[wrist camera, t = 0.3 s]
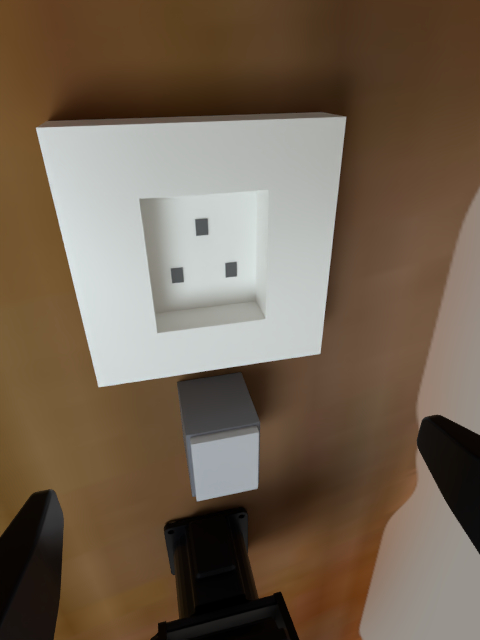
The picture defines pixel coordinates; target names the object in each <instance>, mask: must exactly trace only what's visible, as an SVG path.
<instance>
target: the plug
mask: <svg viewBox="0 0 480 640" xmlns="http://www.w3.org/2000/svg"><path fill="white" fill-rule="evenodd" d="M177 385H178V394H179V403H180V411H181V420H182V429H183V438H184V445H185V451H186V458H187V464H188V471H189V478H190V484H191V491H192V497H194V496H196V499H197V501H201V500H206V499H211V498H216V497H220V496H225V495H230V494H235V493H239V492H244V491H249V490H254V489H258V483H259V451H260V421H259V418H258V415H257V413H256V410H255V408H254V405H253V402H252V400H251V397H250V394H249V392H248V389H247V386H246V384H245V381H244V379H243V376H242V373H241V372H239V373H233V374H226V375H220V376H213V377H207V378H200V379H194V380H187V381H181V382H177Z"/></svg>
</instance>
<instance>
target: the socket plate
mask: <svg viewBox="0 0 480 640" xmlns="http://www.w3.org/2000/svg"><path fill="white" fill-rule="evenodd" d="M345 124H346V117H345V116H340V115H335V114H330V113H325V112H310V113H279V114H248V115H217V116H187V117H156V118H125V119H94V120H64V121H47V122H45V123H43V124H41V125H40V126H38V127H36V130H37V134H38V138H39V143H40V147H41V151H42V155H43V159H44V163H45V167H46V171H47V176H48V180H49V184H50V188H51V192H52V196H53V200H54V205H55V209H56V213H57V217H58V221H59V225H60V229H61V233H62V238H63V242H64V246H65V250H66V254H67V258H68V262H69V267H70V271H71V275H72V279H73V283H74V287H75V291H76V295H77V300H78V304H79V308H80V312H81V316H82V320H83V324H84V329H85V333H86V337H87V341H88V345H89V349H90V353H91V357H92V362H93V366H94V370H95V374H96V378H97V382H98V386H99V387H103V386H110V385H117V384H123V383H130V382H137V381H143V380H150V379H157V378H163V377H170V376H176V375H183V374H190V373H196V372H203V371H210V370H216V369H223V368H229V367H236V366H243V365H249V364H256V363H263V362H269V361H276V360H282V359H289V358H296V357H302V356H309V355H316V354H320V352H321V343H322V334H323V325H324V316H325V306H326V297H327V288H328V279H329V270H330V261H331V252H332V243H333V234H334V225H335V215H336V206H337V197H338V188H339V179H340V170H341V161H342V152H343V143H344V134H345Z"/></svg>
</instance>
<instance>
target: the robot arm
mask: <svg viewBox="0 0 480 640" xmlns="http://www.w3.org/2000/svg"><path fill="white" fill-rule="evenodd" d="M417 446H418V449H419V451H420V453H421V455H422V457H423V459H424V461H425V462H426V465H427V466H428V468H429V470H430V472H431V474H432V476H433V478H434V480H435V482H436V484H437V486H438V488H439V489H440V491H441V493H442V495H443V497H444V499H445V501H446V502H447V504H448V506H449V507H450V509H451V511H452V512H453V514H454V515H455V517H456V518H457V520H458V521H459V523H460V524H461V526H462V528H463V529H464V531H465V532H466V534H467V535H468V537H469V538H470V540H471V542H472V543H473V545H474V546H475V548H476V549H477V551H478V552H479V554H480V435H478V434H476V433H474V432H472V431H470V430H468V429H467V428H465V427H463V426H461V425H459V424H457V423H455V422H453V421H451V420H449V419H447V418H445V417H443V416H441V415H433V416H428V417H425V418H424V419H423V420H422V423H421V426H420V430H419V433H418V437H417ZM63 528H64V518H63V512H62V509H61V507H60V504H59V501H58V498H57V495H56V493H55V491H54V490H52V489H49V490H44V491H39V492H35V493H33V494H32V495H31V496H30V497H29V499H28V500H27V501H26V503H25V504H24V505H23V507H22V508H21V510H20V511H19V512H18V514H17V515H16V516H15V518H14V519H13V521H12V522H11V523H10V525H9V526H8V527H7V529H6V530H5V531H4V533H3V534H2V536H1V537H0V640H53V639H54V633H55V627H56V620H57V614H58V607H59V600H60V588H61V569H62V548H63ZM164 534H165V540H166V546H167V551H168V557H169V562H170V568H171V573H172V574H173V575H175V578H176V589H177V600H178V610H179V620H175V621H171V622H167V623H166V621H165V622H161V623H158V633H157V634H156V635H155V636H154V637H152V638H151V640H299V638H298V635H297V632H296V630H295V627H294V625H293V622H292V619H291V617H290V614H289V612H288V609H287V606H286V604H285V601H284V598H283V596H282V593H281V592H277V593H274V594H273V595H272V596H268V597H264V598H260V599H259V598H258V594H257V590H256V586H255V582H254V578H253V574H252V570H251V566H250V562H249V558H248V514H247V511H246V509H245V508H238V509H234V510H229V511H225V512H220V513H215V514H211V515H206V516H202V517H197V518H192V519H188V520H183V521H179V522H174V523H170V524H167V525H166V526H165V527H164Z"/></svg>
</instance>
